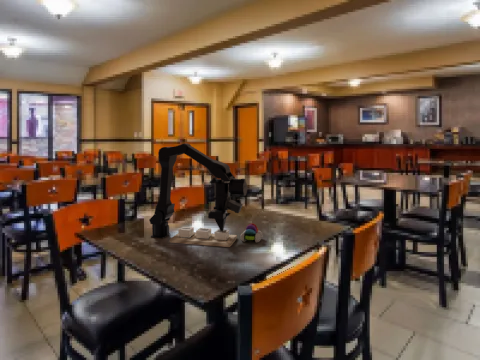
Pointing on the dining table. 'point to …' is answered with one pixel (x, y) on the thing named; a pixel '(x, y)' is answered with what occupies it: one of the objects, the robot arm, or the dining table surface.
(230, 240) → the tan curved board
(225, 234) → the tile three
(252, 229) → the rainbow lobed toy
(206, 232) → the tile two
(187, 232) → the tile one
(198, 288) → the dining table surface
